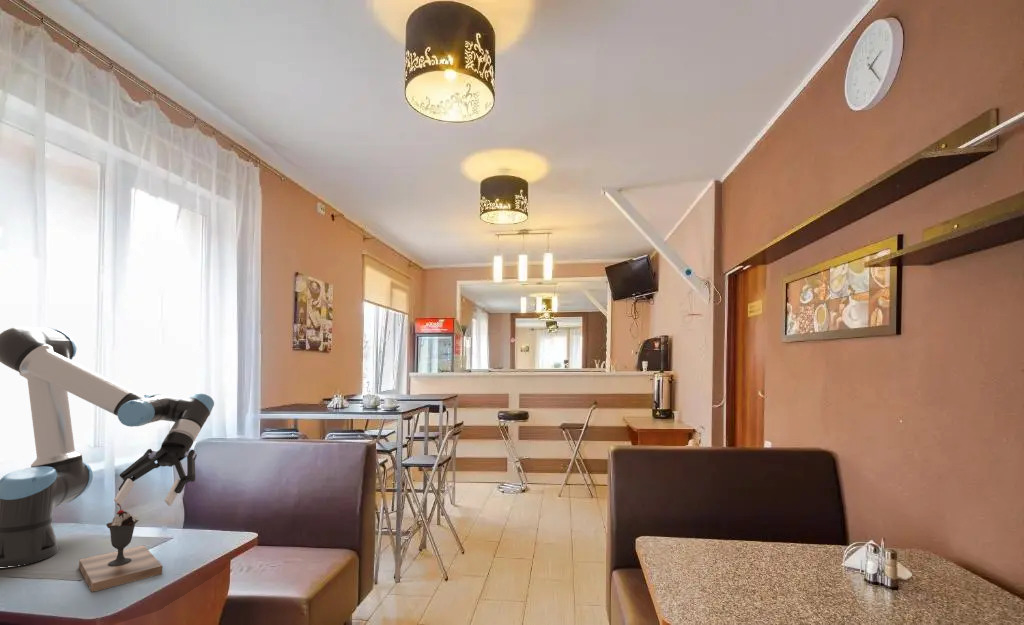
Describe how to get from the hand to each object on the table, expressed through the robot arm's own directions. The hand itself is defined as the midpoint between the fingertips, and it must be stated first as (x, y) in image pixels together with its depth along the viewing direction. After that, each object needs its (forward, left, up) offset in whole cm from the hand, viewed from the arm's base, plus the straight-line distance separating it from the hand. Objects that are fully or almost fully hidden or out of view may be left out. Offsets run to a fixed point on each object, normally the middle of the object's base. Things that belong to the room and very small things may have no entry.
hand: (142, 503), depth 137 cm
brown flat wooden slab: (+4, -5, -16) cm, 17 cm away
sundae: (+3, -5, -14) cm, 15 cm away
